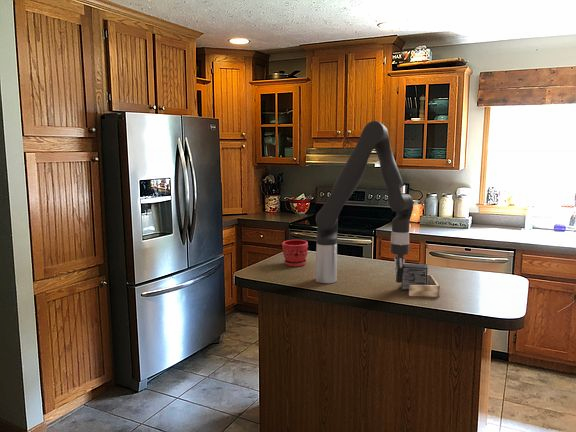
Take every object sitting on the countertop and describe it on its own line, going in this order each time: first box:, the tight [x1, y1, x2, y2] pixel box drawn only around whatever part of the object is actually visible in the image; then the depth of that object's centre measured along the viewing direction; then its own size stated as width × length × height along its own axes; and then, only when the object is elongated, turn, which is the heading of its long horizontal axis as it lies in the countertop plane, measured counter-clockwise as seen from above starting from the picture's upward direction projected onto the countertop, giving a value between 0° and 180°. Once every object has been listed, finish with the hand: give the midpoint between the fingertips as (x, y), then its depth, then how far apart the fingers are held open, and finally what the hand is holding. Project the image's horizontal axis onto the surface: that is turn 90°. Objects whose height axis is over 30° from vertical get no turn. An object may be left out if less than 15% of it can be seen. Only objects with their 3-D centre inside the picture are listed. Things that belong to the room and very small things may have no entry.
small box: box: [400, 263, 429, 292], centre depth 196 cm, size 11×6×10 cm, turn 76°
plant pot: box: [281, 239, 309, 267], centre depth 239 cm, size 13×13×12 cm
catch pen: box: [408, 273, 441, 298], centre depth 196 cm, size 12×17×4 cm
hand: (398, 282), depth 196 cm, fingers closed
